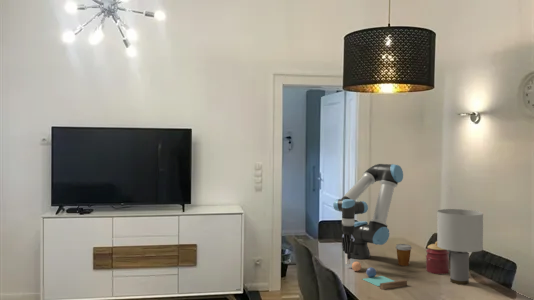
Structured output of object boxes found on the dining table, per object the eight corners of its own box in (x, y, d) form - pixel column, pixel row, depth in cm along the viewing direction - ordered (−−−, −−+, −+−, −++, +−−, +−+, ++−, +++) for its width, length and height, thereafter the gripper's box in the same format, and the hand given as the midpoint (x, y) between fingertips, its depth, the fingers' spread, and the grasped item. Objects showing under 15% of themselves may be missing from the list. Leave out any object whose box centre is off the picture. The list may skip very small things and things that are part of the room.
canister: (448, 269, 272) (448, 240, 272) (449, 275, 260) (450, 244, 260) (425, 267, 276) (425, 238, 276) (425, 273, 264) (425, 242, 264)
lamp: (427, 278, 253) (428, 210, 253) (458, 274, 262) (459, 208, 262) (460, 291, 232) (460, 216, 232) (492, 285, 241) (493, 213, 241)
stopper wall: (379, 288, 236) (380, 283, 236) (404, 284, 243) (404, 279, 243) (382, 289, 235) (382, 284, 235) (406, 285, 241) (407, 280, 241)
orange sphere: (349, 270, 270) (350, 261, 270) (357, 269, 272) (357, 260, 272) (355, 272, 265) (355, 263, 265) (363, 271, 267) (363, 262, 267)
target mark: (361, 279, 252) (361, 278, 252) (382, 276, 258) (382, 275, 258) (377, 286, 240) (377, 285, 240) (399, 283, 245) (399, 282, 245)
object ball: (364, 276, 257) (364, 266, 257) (372, 275, 260) (372, 265, 260) (370, 279, 252) (370, 269, 252) (378, 277, 255) (378, 268, 255)
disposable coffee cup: (412, 267, 278) (412, 247, 277) (396, 266, 279) (396, 246, 279) (410, 263, 287) (410, 244, 287) (395, 262, 289) (395, 243, 289)
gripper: (337, 223, 281) (336, 262, 281) (348, 227, 269) (348, 267, 269) (347, 223, 284) (347, 261, 284) (359, 226, 272) (359, 266, 272)
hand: (347, 263), depth 276 cm, fingers closed
